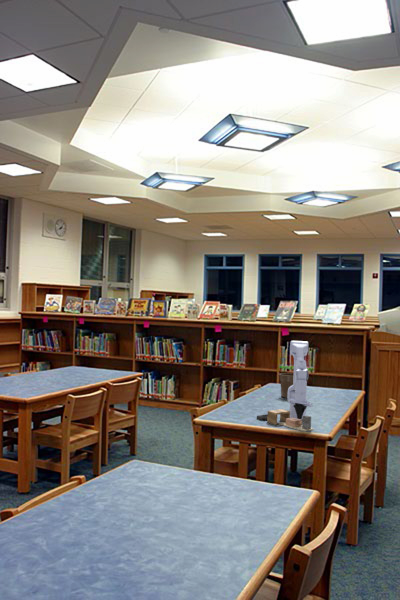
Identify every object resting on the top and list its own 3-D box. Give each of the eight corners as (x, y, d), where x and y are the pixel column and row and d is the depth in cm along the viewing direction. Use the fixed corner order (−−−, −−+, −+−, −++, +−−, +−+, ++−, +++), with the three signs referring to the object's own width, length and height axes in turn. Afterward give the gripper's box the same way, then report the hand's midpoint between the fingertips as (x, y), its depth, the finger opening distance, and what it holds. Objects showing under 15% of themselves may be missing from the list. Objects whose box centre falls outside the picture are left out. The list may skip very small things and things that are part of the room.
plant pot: (277, 394, 374) (278, 372, 374) (300, 396, 372) (301, 373, 372) (278, 398, 358) (279, 375, 358) (301, 400, 355) (303, 376, 356)
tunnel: (281, 420, 286) (281, 409, 286) (289, 422, 281) (290, 411, 281) (267, 422, 278) (267, 410, 278) (275, 424, 274) (276, 413, 274)
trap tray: (267, 417, 292) (268, 414, 292) (274, 419, 288) (274, 415, 288) (256, 418, 286) (256, 415, 286) (263, 420, 282) (263, 417, 282)
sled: (287, 422, 280) (287, 409, 280) (313, 429, 266) (313, 416, 266) (278, 424, 275) (278, 411, 275) (304, 431, 262) (304, 417, 262)
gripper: (285, 390, 272) (283, 416, 272) (306, 395, 261) (305, 422, 261) (293, 389, 276) (292, 415, 276) (315, 394, 265) (314, 420, 265)
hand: (299, 418), depth 269 cm, fingers closed
